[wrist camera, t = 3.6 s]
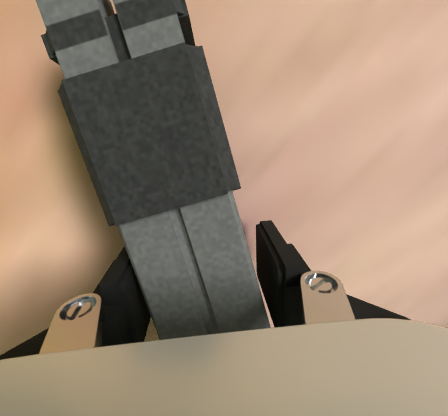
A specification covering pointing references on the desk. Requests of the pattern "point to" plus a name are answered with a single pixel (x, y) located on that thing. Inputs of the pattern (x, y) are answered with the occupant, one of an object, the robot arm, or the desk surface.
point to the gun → (158, 158)
